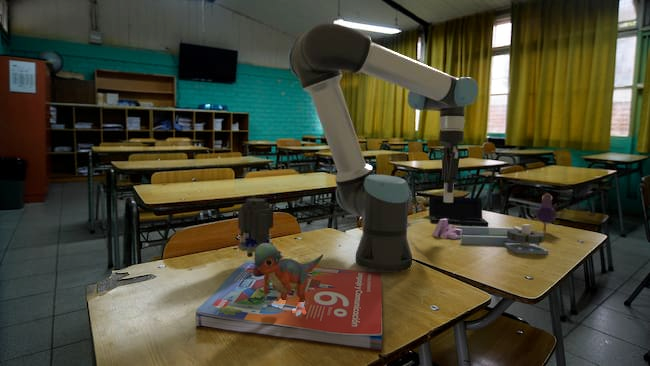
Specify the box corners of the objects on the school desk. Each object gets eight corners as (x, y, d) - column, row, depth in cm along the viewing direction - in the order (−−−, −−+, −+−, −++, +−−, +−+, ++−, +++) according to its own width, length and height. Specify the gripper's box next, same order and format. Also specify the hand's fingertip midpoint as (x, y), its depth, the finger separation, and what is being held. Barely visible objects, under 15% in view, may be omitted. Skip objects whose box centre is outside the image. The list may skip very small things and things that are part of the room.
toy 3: (564, 214, 139) (547, 205, 144) (563, 198, 131) (545, 189, 136) (544, 236, 139) (528, 226, 144) (542, 221, 131) (524, 211, 136)
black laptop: (431, 226, 148) (432, 200, 147) (428, 218, 164) (429, 195, 163) (487, 229, 144) (489, 203, 143) (478, 221, 160) (480, 197, 159)
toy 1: (264, 250, 107) (265, 197, 106) (278, 257, 100) (278, 201, 98) (235, 254, 102) (235, 198, 101) (247, 262, 95) (247, 203, 94)
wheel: (517, 242, 109) (517, 236, 109) (502, 235, 119) (502, 228, 119) (550, 243, 109) (551, 236, 109) (533, 236, 119) (533, 229, 118)
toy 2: (256, 331, 67) (252, 249, 65) (241, 307, 76) (237, 234, 74) (347, 307, 75) (346, 233, 73) (323, 288, 85) (322, 222, 83)
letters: (463, 238, 129) (464, 220, 128) (452, 240, 124) (453, 222, 124) (442, 233, 135) (443, 217, 134) (431, 236, 130) (432, 218, 130)
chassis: (473, 252, 110) (474, 226, 109) (447, 232, 135) (448, 211, 134) (557, 254, 110) (559, 228, 109) (515, 234, 134) (517, 213, 134)
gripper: (470, 129, 117) (466, 205, 119) (456, 131, 130) (453, 199, 132) (445, 129, 117) (442, 205, 120) (434, 130, 130) (431, 199, 133)
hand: (448, 202), depth 126 cm, fingers closed
